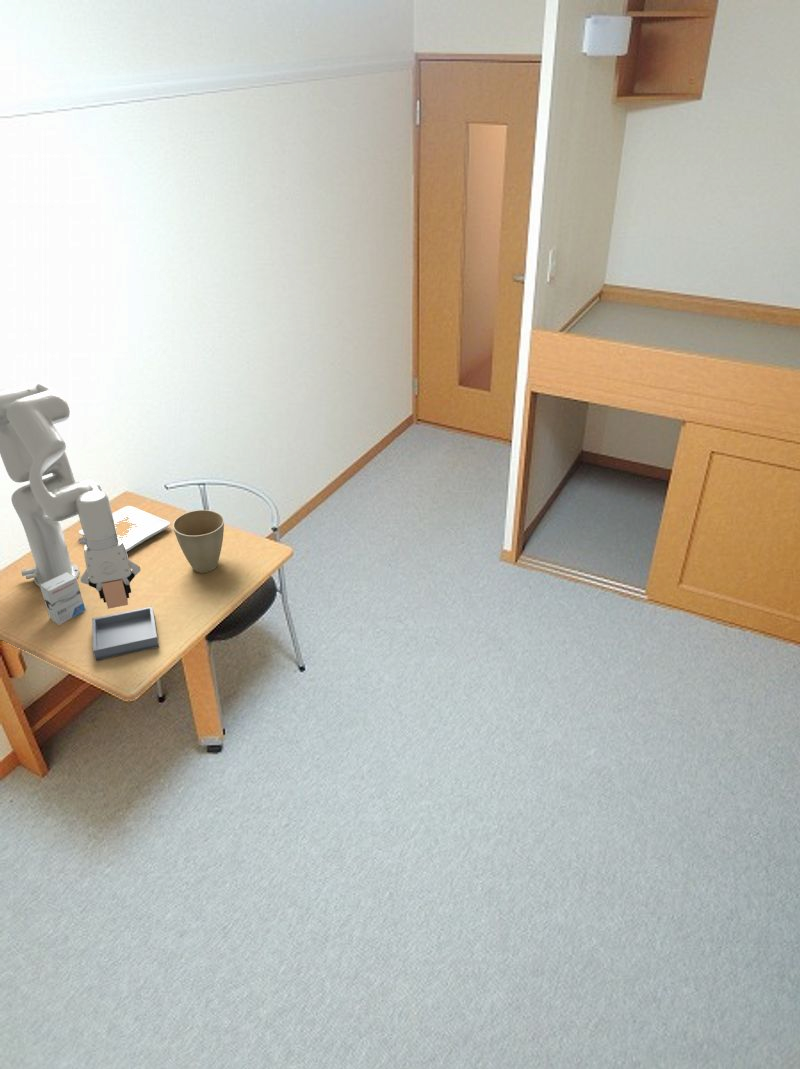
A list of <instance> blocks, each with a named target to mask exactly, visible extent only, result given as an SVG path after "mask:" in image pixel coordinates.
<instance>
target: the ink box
mask: <svg viewBox="0 0 800 1069" xmlns="http://www.w3.org/2000/svg"><path fill="white" fill-rule="evenodd" d="M39 588H40V591H41V594H42V597H43V601H44V603H45V607H46V609H47V612H48V616H49V619H51V620H52V621H53V622H54V623H56V624H57V625H61V624H63V623H65V622H67V621H68V620H71V619H72V618H74V617H76V616H78V615H79V614H82V613H83V612H85V611H86V607H85V604H84V600H83V596H82V593H81V589H80V586H79V582H78V578H77V579H76V577H74V576H73V575H71V574H70V573H68V572H66V573H64V574H62V575H60V576H58V577H56V578H53V579H51V580H49V581H47V582H45V583H43V584H41V585H40V587H39Z"/></svg>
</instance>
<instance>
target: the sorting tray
mask: <svg viewBox="0 0 800 1069" xmlns="http://www.w3.org/2000/svg"><path fill="white" fill-rule="evenodd" d="M91 625H92V626H91V628H92V630H91V632H92V652H93V656H94V658H95V661H102V660H106V659H111V658H115V657H118V656H119V657H121V656H125V655H130V654H134V653H139V652H143V651H147V650H152V649H157V648H160V645H159V644H160V643H159V639H158V638H159V637H158V631H157V624H156V616H155V612H154V606H152V605H151V606H148V607H142V608H136V609H133V610H128V611H121V612H117V613H113V614H107V615H104V616H103V615H102V616H97V617H92V618H91Z"/></svg>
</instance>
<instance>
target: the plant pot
mask: <svg viewBox="0 0 800 1069" xmlns="http://www.w3.org/2000/svg"><path fill="white" fill-rule="evenodd" d="M172 528H173V531H174V534H175V537H176V540H177V542H178V545H179V547H180V549H181V550H182V553H183V554H184V557H185V559H186V560H187V561H188V563H189V565H190V566H191V567H192V570H194V571H195V572H198V573H208V572H209V573H210V572H212V571H213V570H215V569H216V568H217V566H218V564H219V560H220V556H221V553H222V552H221V551H222V547H223V541H224V534H225V533H224V530H225V518H224V516H223V515H222V514H221V513H219V512H217V511H214V510H209V509H197V510H192V511H191V510H190V511H187V512H185V513H183V514H181V515H179V516H178V517H177V518H175V519H174V521H173V523H172Z"/></svg>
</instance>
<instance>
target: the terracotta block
mask: <svg viewBox="0 0 800 1069" xmlns="http://www.w3.org/2000/svg"><path fill="white" fill-rule="evenodd" d="M101 584H102V588H103V592H104V596H105V600H106V603H105V604H106V606H107V610H109V609H114V608H119V607H124V606H128V605H129V602H128V601H129V600H128V599H129V598H127V597H126V593H125V589H124V582H123V580H122V579H119V580H114V581H108V582H103V583H101Z"/></svg>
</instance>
